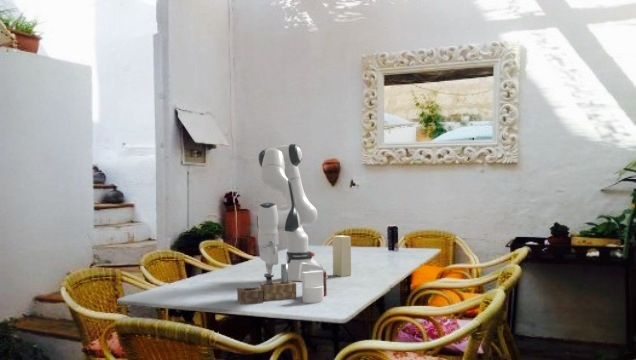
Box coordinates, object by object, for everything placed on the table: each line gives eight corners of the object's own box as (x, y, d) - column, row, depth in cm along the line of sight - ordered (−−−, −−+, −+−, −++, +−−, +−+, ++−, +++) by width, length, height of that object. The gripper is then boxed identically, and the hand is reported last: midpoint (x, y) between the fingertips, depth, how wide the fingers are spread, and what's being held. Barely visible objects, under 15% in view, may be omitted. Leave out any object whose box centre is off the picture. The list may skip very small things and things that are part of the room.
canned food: (320, 297, 224) (320, 272, 224) (305, 296, 228) (304, 270, 229) (330, 294, 231) (329, 269, 231) (314, 293, 235) (314, 268, 235)
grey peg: (287, 295, 230) (286, 263, 230) (289, 297, 227) (288, 264, 227) (280, 296, 229) (280, 264, 229) (282, 297, 226) (281, 265, 226)
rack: (258, 298, 226) (258, 286, 226) (262, 302, 217) (262, 290, 217) (237, 300, 223) (237, 288, 223) (241, 304, 214) (240, 292, 215)
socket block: (291, 294, 233) (291, 280, 233) (296, 297, 226) (296, 283, 226) (260, 296, 229) (260, 283, 229) (264, 300, 221) (264, 286, 221)
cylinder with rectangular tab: (307, 303, 214) (306, 274, 214) (299, 299, 222) (298, 271, 222) (327, 301, 217) (326, 272, 217) (318, 297, 225) (318, 269, 226)
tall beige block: (352, 275, 280) (351, 236, 281) (341, 276, 276) (340, 237, 276) (343, 273, 287) (342, 235, 287) (332, 275, 283) (332, 236, 283)
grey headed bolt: (272, 291, 228) (272, 272, 229) (274, 293, 225) (274, 274, 225) (263, 292, 227) (263, 273, 227) (265, 294, 223) (265, 274, 224)
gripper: (281, 242, 217) (282, 275, 217) (270, 238, 237) (271, 268, 237) (266, 243, 215) (267, 277, 215) (256, 239, 235) (257, 269, 235)
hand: (269, 272), depth 226 cm, fingers closed
